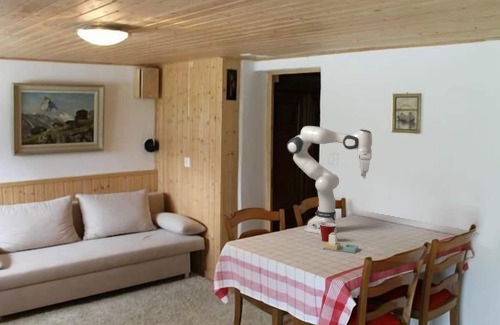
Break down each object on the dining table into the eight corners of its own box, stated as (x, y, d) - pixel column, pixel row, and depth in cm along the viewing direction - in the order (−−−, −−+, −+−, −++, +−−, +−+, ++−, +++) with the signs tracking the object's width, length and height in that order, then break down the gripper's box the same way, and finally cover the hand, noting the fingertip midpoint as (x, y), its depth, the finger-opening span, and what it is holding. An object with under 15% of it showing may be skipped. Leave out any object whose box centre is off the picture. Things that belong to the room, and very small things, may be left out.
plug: (328, 248, 309) (328, 233, 308) (330, 246, 312) (331, 231, 311) (334, 248, 307) (335, 234, 306) (337, 247, 310) (337, 232, 309)
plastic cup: (338, 243, 322) (339, 225, 320) (322, 244, 320) (322, 225, 318) (332, 239, 332) (332, 221, 331) (316, 240, 330) (316, 221, 329)
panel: (322, 250, 307) (322, 245, 306) (329, 245, 317) (329, 240, 317) (355, 255, 297) (355, 249, 297) (361, 250, 308) (361, 244, 307)
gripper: (357, 153, 335) (356, 175, 337) (360, 157, 315) (359, 179, 317) (367, 154, 335) (366, 175, 336) (371, 157, 315) (370, 179, 316)
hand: (363, 177), depth 326 cm, fingers open, 8 cm apart
